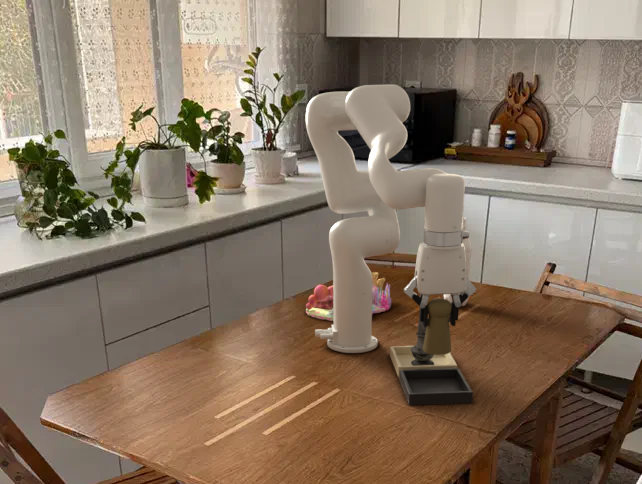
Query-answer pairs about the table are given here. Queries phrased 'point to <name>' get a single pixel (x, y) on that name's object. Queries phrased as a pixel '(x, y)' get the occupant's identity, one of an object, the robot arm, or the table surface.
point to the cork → (438, 327)
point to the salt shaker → (421, 348)
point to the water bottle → (468, 261)
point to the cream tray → (404, 357)
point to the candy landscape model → (323, 299)
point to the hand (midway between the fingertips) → (438, 323)
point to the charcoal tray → (435, 386)
